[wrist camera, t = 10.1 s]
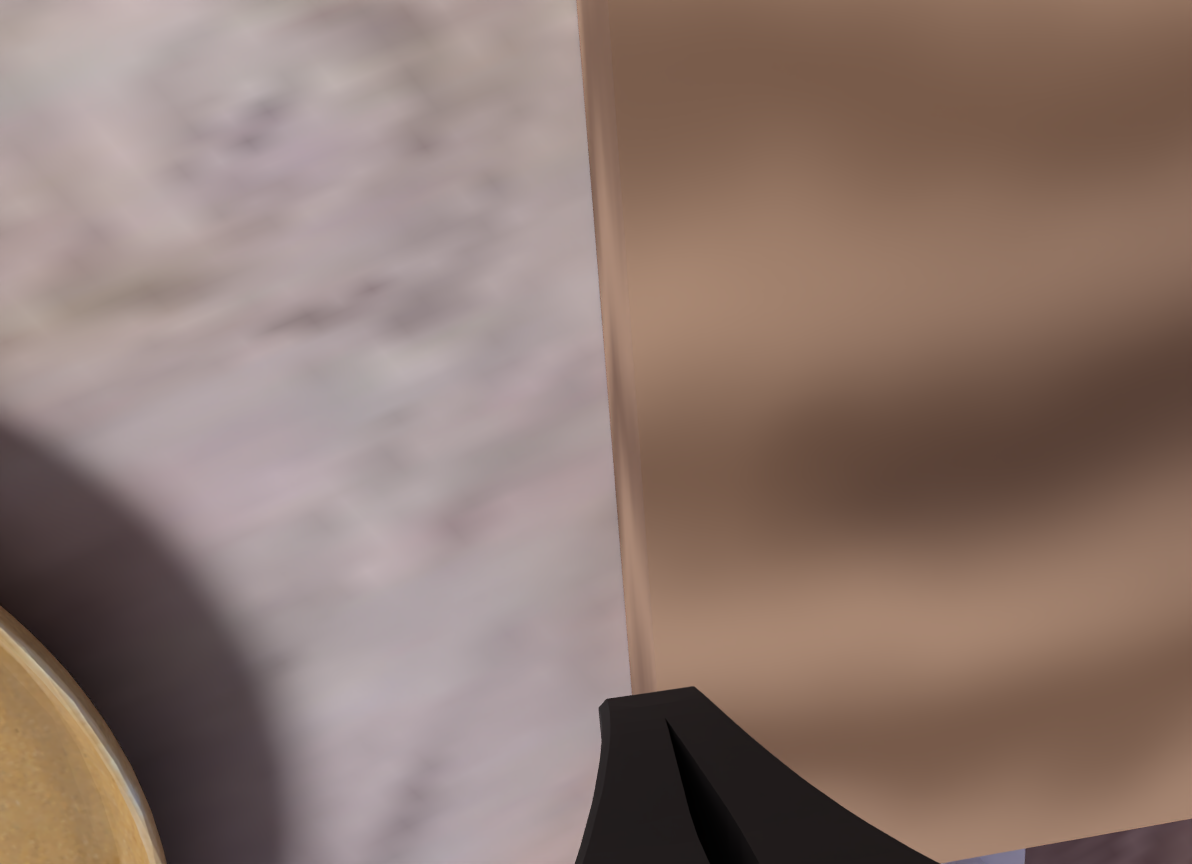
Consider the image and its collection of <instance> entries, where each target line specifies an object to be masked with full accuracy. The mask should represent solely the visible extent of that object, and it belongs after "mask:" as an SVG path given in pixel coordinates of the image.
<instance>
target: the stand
mask: <svg viewBox="0 0 1192 864" xmlns="http://www.w3.org/2000/svg"><path fill="white" fill-rule="evenodd" d="M576 1H577V14H578V26H579V39H580V51H581V64H582V76H583V88H584V101H585V113H586V126H587V138H588V151H589V163H590V176H591V188H592V201H593V213H594V226H595V238H596V251H597V263H598V276H599V288H600V301H601V313H602V326H603V338H604V350H605V363H606V375H607V388H608V400H609V413H610V425H611V438H612V450H613V463H614V475H615V488H616V500H617V513H618V525H619V538H620V550H621V563H622V575H623V588H624V600H625V612H626V625H627V637H628V650H629V662H630V675H631V687H632V695H637V694H644V693H650V692H657V691H664V690H671V689H677V688H684V687H691V686H695V687H696V688H697V689H698V690H699V691H701V692H702V693H703V694H704V695H705V696H706V697H707V698H709V699H710V700H711V701H712V702H713V703H714V704H715V705H716V706H717V707H718V708H720V709H721V710H722V711H723V712H724V713H725V714H726V715H727V716H728V717H730V718H731V719H732V720H733V721H734V722H735V723H736V724H737V725H739V726H740V727H741V728H742V729H743V730H744V731H745V732H747V733H748V734H749V735H750V736H751V737H752V738H754V739H755V740H756V741H757V742H758V743H759V744H761V745H762V746H763V747H764V748H765V749H767V750H768V751H769V752H770V753H772V754H773V755H774V756H775V757H777V758H778V759H779V760H780V761H782V762H783V763H784V764H785V765H787V766H788V767H789V768H790V769H791V770H793V771H794V772H795V773H796V774H798V775H799V776H800V777H802V778H803V779H804V780H806V781H807V782H808V783H810V784H811V785H813V786H814V787H815V788H817V789H818V790H820V791H821V792H823V793H824V794H825V795H827V796H828V797H830V798H831V799H833V800H834V801H835V802H837V803H838V804H840V805H841V806H843V807H844V808H846V809H847V810H849V811H850V812H852V813H853V814H855V815H856V816H858V817H860V818H861V819H863V820H864V821H866V822H867V823H869V824H871V825H873V826H874V827H876V828H878V829H879V830H881V831H883V832H884V833H886V834H888V835H890V836H891V837H893V838H895V839H896V840H898V841H900V842H902V843H903V844H905V845H907V846H908V847H910V848H912V849H914V850H915V851H917V852H919V853H921V854H923V855H925V856H927V857H929V858H930V859H932V860H934V861H936V862H938V863H940V864H941V863H947V862H952V861H958V860H963V859H969V858H975V857H980V856H986V855H991V854H997V853H1002V852H1008V851H1014V850H1019V849H1025V848H1030V847H1036V846H1042V845H1047V844H1053V843H1058V842H1064V841H1070V840H1075V839H1081V838H1086V837H1092V836H1098V835H1103V834H1109V833H1114V832H1120V831H1125V830H1131V829H1137V828H1142V827H1148V826H1153V825H1159V824H1165V823H1170V822H1176V821H1181V820H1187V819H1192V0H576Z"/></svg>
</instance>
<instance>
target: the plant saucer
mask: <svg viewBox="0 0 1192 864" xmlns="http://www.w3.org/2000/svg"><path fill="white" fill-rule="evenodd" d="M0 864H167V863H166V859H165V854H164V850H163V846H162V843H161V840H160V837H159V834H158V831H157V827H156V824H155V821H154V818H153V815H152V812H151V809H150V807H149V804H148V802H147V800H146V797H145V795H144V793H143V791H142V788H141V786H140V784H139V782H138V779H137V777H136V775H135V773H134V771H133V768H132V766H131V764H130V762H129V761H128V759H127V757H126V756H125V754H124V752H123V750H122V749H121V747H120V745H119V744H118V742H117V740H116V738H115V737H114V735H113V733H112V732H111V730H110V728H109V727H108V725H107V724H106V722H105V721H104V719H103V718H102V716H101V715H100V714H99V712H98V711H97V709H96V708H95V707H94V705H93V704H92V702H91V701H90V700H89V698H88V697H87V695H86V694H85V693H84V692H83V690H82V689H81V688H80V687H79V685H78V684H77V683H76V681H75V680H74V679H73V678H72V676H71V675H70V674H69V672H68V671H67V670H66V669H65V668H64V667H63V666H62V665H61V664H60V663H59V662H58V660H57V659H56V658H55V657H54V656H53V655H52V654H51V653H50V652H49V651H48V650H47V649H46V648H45V647H44V645H43V644H42V643H41V642H40V641H38V640H37V639H36V638H35V637H34V636H33V635H32V634H31V633H30V632H29V631H28V630H27V629H26V628H25V627H24V626H23V625H22V624H21V623H20V622H19V621H18V620H16V619H15V618H14V617H13V616H12V615H11V614H10V613H8V612H7V611H6V610H5V609H4V608H3V607H1V606H0Z"/></svg>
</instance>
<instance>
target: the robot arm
mask: <svg viewBox="0 0 1192 864" xmlns="http://www.w3.org/2000/svg"><path fill="white" fill-rule="evenodd" d="M599 718H600V729H601V739H602V744H601V754H600V763H599V769H598V774H597V780H596V786H595V791H594V797H593V801H592V805H591V809H590V813H589V817H588V820H587V824H586V828H585V831H584V835H583V839H582V842H581V846H580V849H579V853H578V856H577V859H576V862H575V864H940V863H938V862H936V861H934V860H932V859H930V858H929V857H927V856H925V855H923V854H921V853H919V852H917V851H915V850H914V849H912V848H910V847H908V846H907V845H905V844H903V843H902V842H900V841H898V840H896V839H895V838H893V837H891V836H890V835H888V834H886V833H884V832H883V831H881V830H879V829H878V828H876V827H874V826H873V825H871V824H869V823H867V822H866V821H864V820H863V819H861V818H860V817H858V816H856V815H855V814H853V813H852V812H850V811H849V810H847V809H846V808H844V807H843V806H841V805H840V804H838V803H837V802H835V801H834V800H833V799H831V798H830V797H828V796H827V795H825V794H824V793H823V792H821V791H820V790H818V789H817V788H815V787H814V786H813V785H811V784H810V783H808V782H807V781H806V780H804V779H803V778H802V777H800V776H799V775H798V774H796V773H795V772H794V771H793V770H791V769H790V768H789V767H788V766H787V765H785V764H784V763H783V762H782V761H780V760H779V759H778V758H777V757H775V756H774V755H773V754H772V753H770V752H769V751H768V750H767V749H765V748H764V747H763V746H762V745H761V744H759V743H758V742H757V741H756V740H755V739H754V738H752V737H751V736H750V735H749V734H748V733H747V732H745V731H744V730H743V729H742V728H741V727H740V726H739V725H737V724H736V723H735V722H734V721H733V720H732V719H731V718H730V717H728V716H727V715H726V714H725V713H724V712H723V711H722V710H721V709H720V708H718V707H717V706H716V705H715V704H714V703H713V702H712V701H711V700H710V699H709V698H707V697H706V696H705V695H704V694H703V693H702V692H701V691H699V690H698V689H697V688H696V687H695V686H691V687H684V688H677V689H671V690H664V691H657V692H650V693H644V694H637V695H630V696H624V697H617V698H610V699H606V700H605V701H604V702H603V703H602V705H601V706H600V707H599ZM1025 849H1026V848H1025ZM1025 849H1019V850H1014V851H1008V852H1002V853H997V854H991V855H986V856H980V857H975V858H969V859H963V860H958V861H952V862H947V863H941V864H1025Z"/></svg>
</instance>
